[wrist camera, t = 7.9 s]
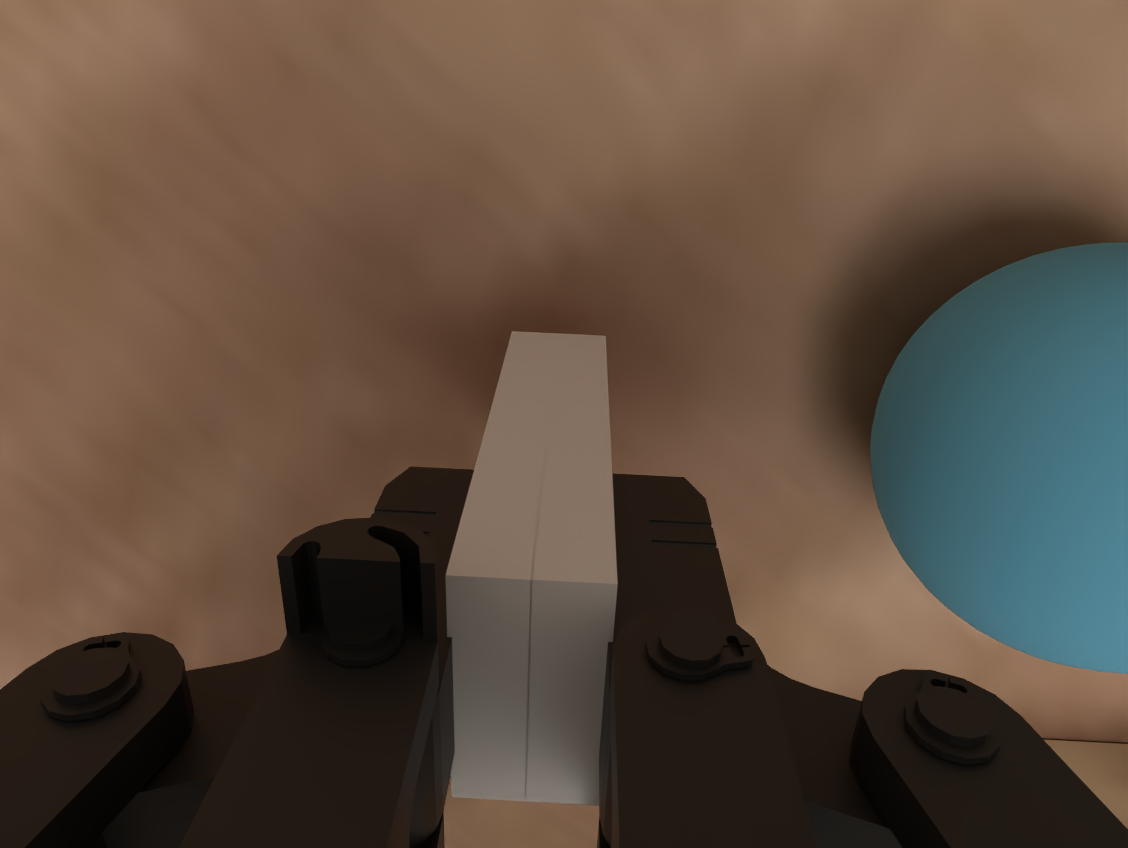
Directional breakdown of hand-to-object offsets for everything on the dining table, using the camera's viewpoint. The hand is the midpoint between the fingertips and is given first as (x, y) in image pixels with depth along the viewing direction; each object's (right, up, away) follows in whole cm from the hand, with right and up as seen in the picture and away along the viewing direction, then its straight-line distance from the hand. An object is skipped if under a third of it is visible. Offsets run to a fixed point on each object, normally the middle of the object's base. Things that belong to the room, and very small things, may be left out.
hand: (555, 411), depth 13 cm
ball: (+8, -1, -2) cm, 8 cm away
